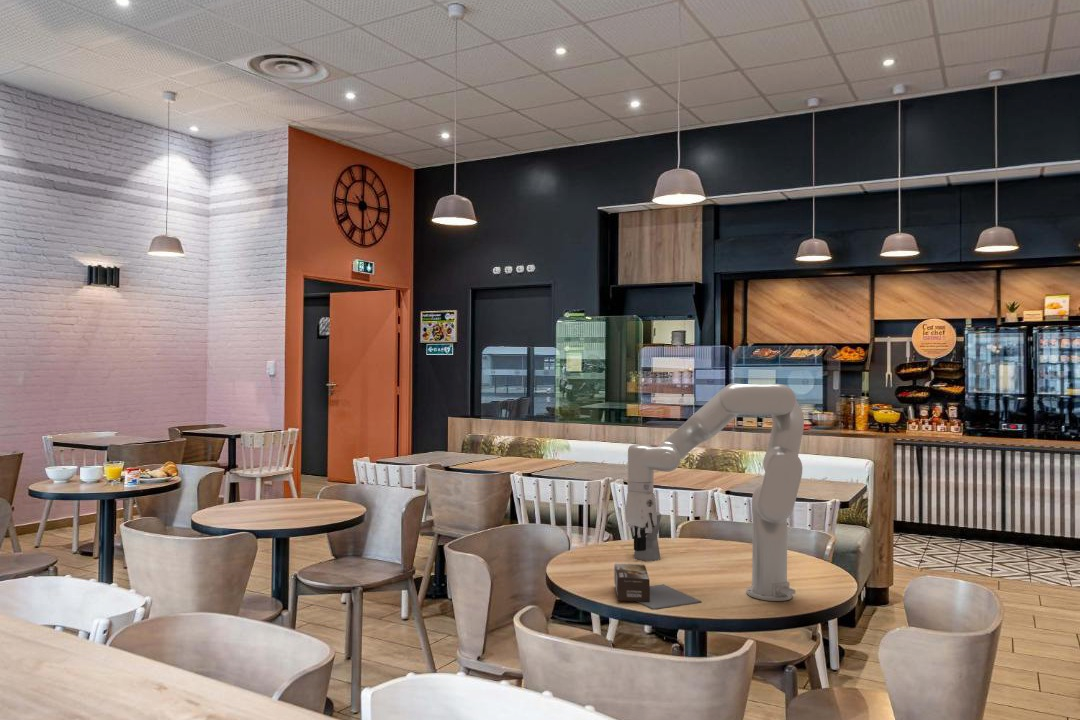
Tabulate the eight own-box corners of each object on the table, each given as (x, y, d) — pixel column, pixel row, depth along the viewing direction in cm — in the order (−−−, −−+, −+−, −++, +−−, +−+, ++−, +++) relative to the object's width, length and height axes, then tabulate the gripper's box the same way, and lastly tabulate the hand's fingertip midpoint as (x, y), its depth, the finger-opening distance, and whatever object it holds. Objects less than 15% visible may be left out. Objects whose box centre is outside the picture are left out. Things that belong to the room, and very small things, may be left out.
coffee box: (614, 584, 228) (615, 601, 212) (614, 563, 228) (616, 577, 212) (645, 585, 227) (649, 602, 211) (645, 563, 227) (649, 578, 211)
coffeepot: (639, 552, 270) (639, 500, 271) (665, 555, 267) (666, 502, 267) (625, 562, 256) (626, 507, 257) (653, 565, 253) (654, 510, 253)
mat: (701, 602, 213) (701, 600, 213) (653, 609, 206) (653, 608, 206) (663, 585, 229) (663, 584, 229) (616, 592, 222) (617, 590, 222)
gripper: (666, 490, 221) (665, 554, 221) (637, 482, 234) (636, 543, 234) (644, 491, 218) (643, 557, 218) (615, 484, 231) (615, 546, 231)
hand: (639, 550), depth 226 cm, fingers closed
